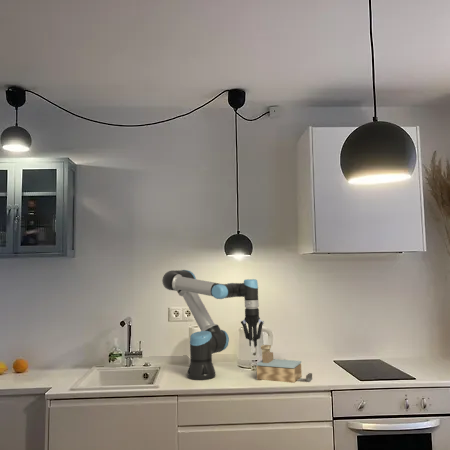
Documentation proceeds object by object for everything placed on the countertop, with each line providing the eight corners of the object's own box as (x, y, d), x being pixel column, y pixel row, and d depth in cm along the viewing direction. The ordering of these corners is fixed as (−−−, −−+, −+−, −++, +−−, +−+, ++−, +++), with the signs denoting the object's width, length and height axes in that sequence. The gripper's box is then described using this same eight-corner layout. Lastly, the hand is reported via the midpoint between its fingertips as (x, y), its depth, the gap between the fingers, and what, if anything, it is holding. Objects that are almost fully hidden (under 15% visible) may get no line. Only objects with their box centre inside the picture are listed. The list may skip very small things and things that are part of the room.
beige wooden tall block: (261, 370, 250) (260, 346, 252) (264, 369, 254) (263, 344, 255) (268, 371, 248) (268, 346, 250) (271, 369, 252) (270, 345, 254)
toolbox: (257, 380, 230) (256, 366, 231) (265, 374, 242) (265, 361, 243) (307, 384, 219) (306, 370, 220) (314, 378, 231) (313, 364, 231)
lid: (256, 365, 231) (256, 355, 231) (265, 360, 243) (265, 350, 243) (293, 368, 222) (293, 358, 223) (301, 362, 234) (300, 353, 235)
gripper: (237, 308, 241) (239, 353, 238) (260, 308, 235) (262, 354, 233) (243, 307, 247) (245, 350, 245) (265, 307, 242) (267, 351, 240)
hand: (253, 352), depth 239 cm, fingers closed
